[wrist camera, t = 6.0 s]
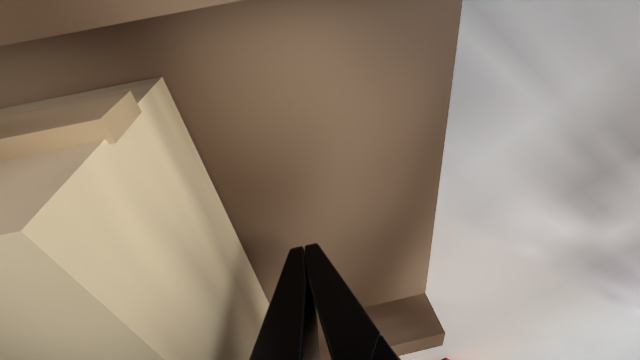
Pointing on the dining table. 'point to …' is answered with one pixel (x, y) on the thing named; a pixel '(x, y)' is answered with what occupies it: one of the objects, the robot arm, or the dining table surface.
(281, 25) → the crate bay
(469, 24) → the dining table surface
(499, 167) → the dining table surface
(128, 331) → the cream slab
